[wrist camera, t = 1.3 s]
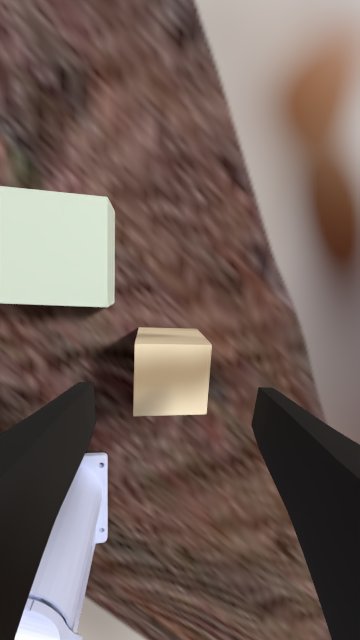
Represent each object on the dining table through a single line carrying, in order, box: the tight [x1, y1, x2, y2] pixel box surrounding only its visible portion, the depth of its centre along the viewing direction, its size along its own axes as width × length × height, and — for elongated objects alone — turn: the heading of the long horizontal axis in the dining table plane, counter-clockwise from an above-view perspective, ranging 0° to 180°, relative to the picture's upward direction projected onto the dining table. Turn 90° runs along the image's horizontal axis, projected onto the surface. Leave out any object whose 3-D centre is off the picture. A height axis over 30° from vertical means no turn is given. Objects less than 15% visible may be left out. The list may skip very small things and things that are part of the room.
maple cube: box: [133, 328, 212, 416], centre depth 17 cm, size 5×5×5 cm
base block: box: [0, 186, 115, 307], centre depth 16 cm, size 7×7×3 cm
